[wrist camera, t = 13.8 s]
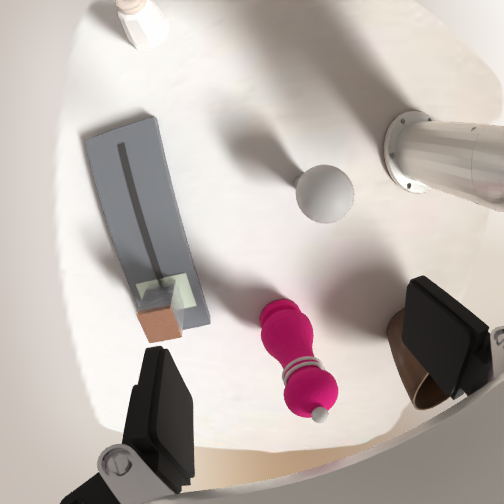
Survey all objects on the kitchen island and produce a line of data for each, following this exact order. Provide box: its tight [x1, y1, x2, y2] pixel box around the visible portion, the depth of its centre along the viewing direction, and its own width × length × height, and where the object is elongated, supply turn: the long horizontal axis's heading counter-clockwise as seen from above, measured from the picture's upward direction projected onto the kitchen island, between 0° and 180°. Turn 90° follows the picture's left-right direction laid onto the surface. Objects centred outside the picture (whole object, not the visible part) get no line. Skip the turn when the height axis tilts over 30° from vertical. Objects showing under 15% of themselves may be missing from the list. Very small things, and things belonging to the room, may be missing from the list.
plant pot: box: [387, 309, 451, 410], centre depth 42 cm, size 15×15×16 cm
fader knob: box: [137, 280, 185, 343], centre depth 34 cm, size 4×4×7 cm
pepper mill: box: [260, 299, 338, 423], centre depth 35 cm, size 7×7×20 cm
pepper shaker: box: [115, 0, 170, 49], centre depth 22 cm, size 5×5×11 cm
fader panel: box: [85, 117, 210, 330], centre depth 35 cm, size 9×28×2 cm, turn 11°
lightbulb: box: [295, 165, 354, 223], centre depth 32 cm, size 6×6×11 cm
